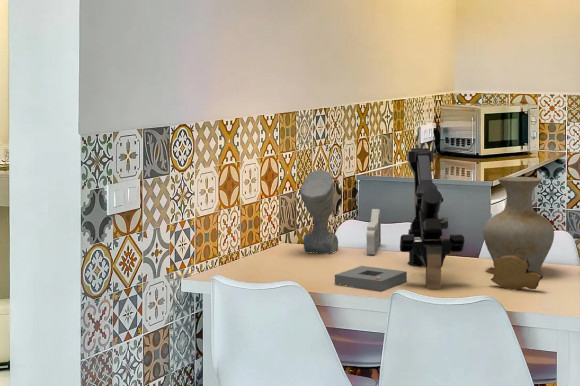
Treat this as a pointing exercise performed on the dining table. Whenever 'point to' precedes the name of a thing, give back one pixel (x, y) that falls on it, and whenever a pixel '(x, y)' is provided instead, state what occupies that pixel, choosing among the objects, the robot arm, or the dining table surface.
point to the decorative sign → (374, 232)
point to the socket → (371, 278)
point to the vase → (519, 225)
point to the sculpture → (319, 211)
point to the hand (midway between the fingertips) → (434, 266)
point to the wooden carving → (514, 273)
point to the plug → (433, 266)
